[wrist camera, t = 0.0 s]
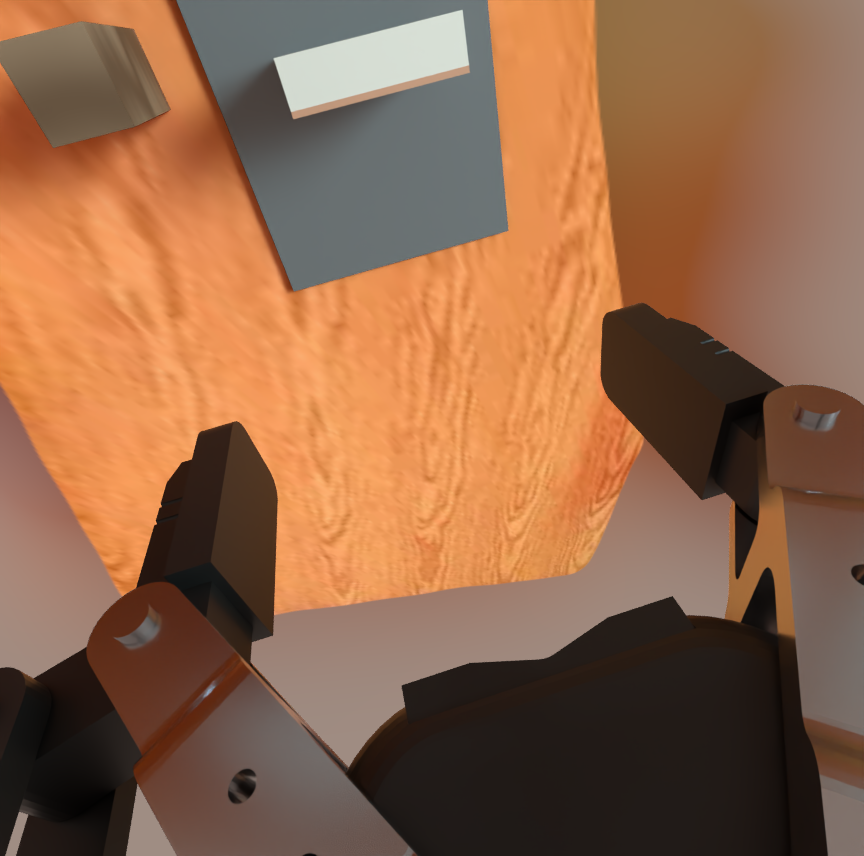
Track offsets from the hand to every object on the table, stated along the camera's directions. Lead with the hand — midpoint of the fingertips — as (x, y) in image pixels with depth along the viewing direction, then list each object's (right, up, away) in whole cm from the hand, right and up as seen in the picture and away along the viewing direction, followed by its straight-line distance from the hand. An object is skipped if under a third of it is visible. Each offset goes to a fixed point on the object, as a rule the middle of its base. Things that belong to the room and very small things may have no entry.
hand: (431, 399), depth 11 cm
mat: (-5, +21, +22) cm, 31 cm away
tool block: (-19, +20, +19) cm, 33 cm away
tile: (-5, +23, +20) cm, 31 cm away
